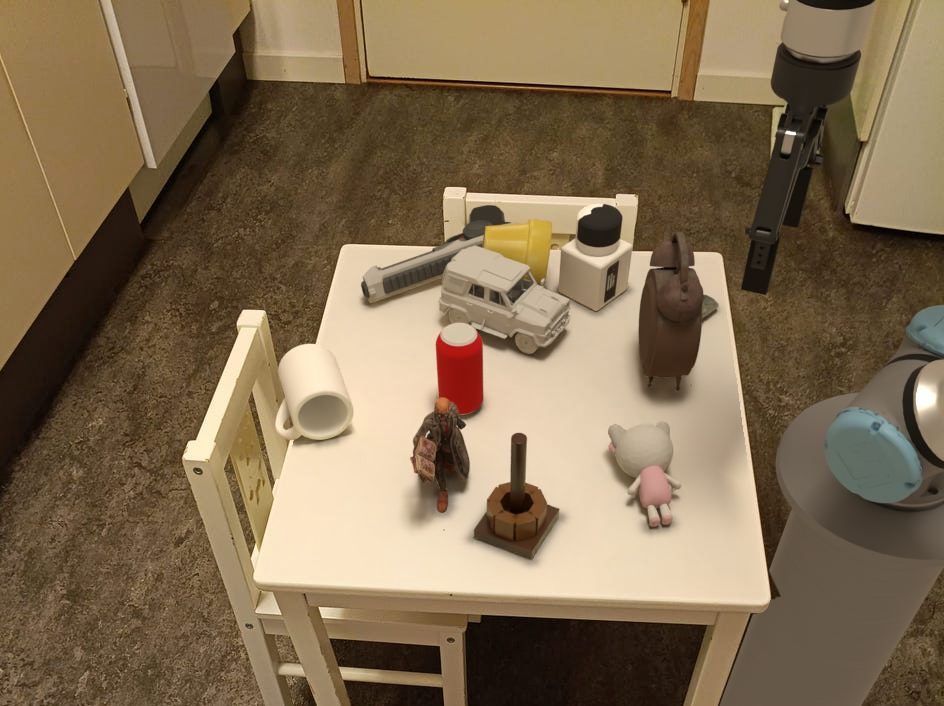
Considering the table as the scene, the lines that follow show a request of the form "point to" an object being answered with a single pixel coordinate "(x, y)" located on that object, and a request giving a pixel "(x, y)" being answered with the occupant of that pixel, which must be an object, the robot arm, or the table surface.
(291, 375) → the mug
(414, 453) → the figurine
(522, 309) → the toy car
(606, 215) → the container
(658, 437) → the toy
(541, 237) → the flower pot
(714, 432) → the table surface
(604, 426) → the table surface
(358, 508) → the table surface
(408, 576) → the table surface
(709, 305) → the stone
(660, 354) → the alarm clock
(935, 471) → the robot arm
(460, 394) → the beverage can
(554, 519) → the peg stand
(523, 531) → the ring
